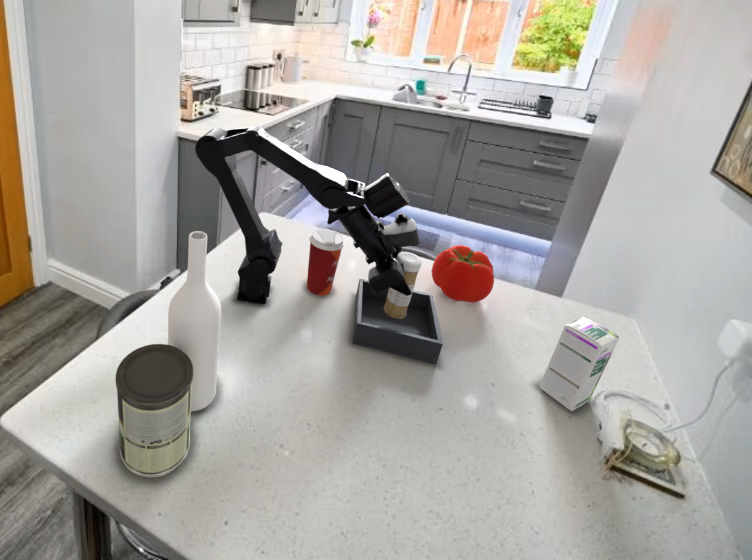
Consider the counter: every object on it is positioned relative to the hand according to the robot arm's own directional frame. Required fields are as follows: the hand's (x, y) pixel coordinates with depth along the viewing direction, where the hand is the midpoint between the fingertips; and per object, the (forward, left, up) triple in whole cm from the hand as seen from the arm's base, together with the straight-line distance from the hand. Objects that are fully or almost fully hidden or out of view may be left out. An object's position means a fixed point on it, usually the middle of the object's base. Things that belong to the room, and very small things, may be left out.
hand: (408, 288), depth 87 cm
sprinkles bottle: (-1, 0, -7) cm, 7 cm away
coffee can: (-41, -34, -10) cm, 54 cm away
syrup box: (+27, -11, -10) cm, 31 cm away
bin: (-1, 0, -10) cm, 10 cm away
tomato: (+17, +16, -11) cm, 26 cm away
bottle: (-38, -24, -10) cm, 46 cm away
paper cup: (-16, +10, -10) cm, 22 cm away
